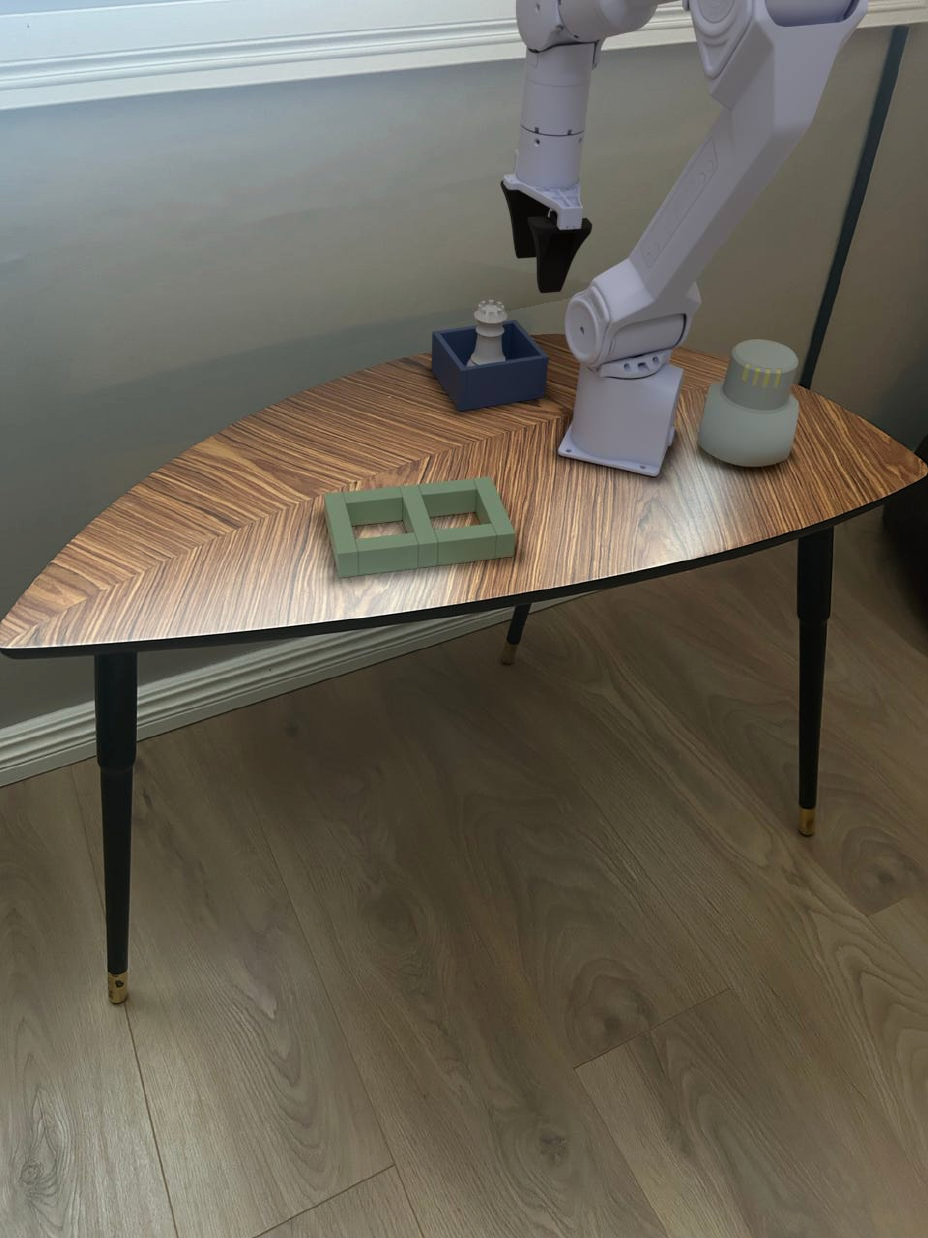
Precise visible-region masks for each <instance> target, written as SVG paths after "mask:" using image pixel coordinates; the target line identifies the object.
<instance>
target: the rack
mask: <svg viewBox="0 0 928 1238" xmlns="http://www.w3.org/2000/svg"><path fill="white" fill-rule="evenodd" d="M323 504H324V505H323V506H324V507H323V508H324V519H325V523H326V527H327V532H328V537H329V540H330V544H331V545H330V546H331V549H332V553H333V558H334V563H335V567H336V571H337V575H338V578H339V579H341V578H348V577H349V578H350V577H357V576H366V575H373V574H382V573H390V572H396V571H406V570H413V569H421V568H428V567H429V568H430V567H436V566H446V565H453V564H454V565H455V564H462V563H472V562H480V561H487V560H494V559H495V560H496V559H502V558H503V559H504V558H510V557H511V558H512V557H514V555H515V554H514V553H515V542H516V530H515V528H514V526H513V524H512V522H511V520H510V517H509V515H508V513H507V511H506V508H505V506H504V504H503V501H502V500H501V497H500V494H499V493H498V491H497V487H496V486H495V483H494V481H493V479H492V476H482V477H474V478H472V477H471V478H463V479H453V480H444V481H436V482H426V483H418V484H417V483H416V484H415V483H414V484H406V485H395V486H386V487H378V488H368V489H367V488H366V489H360V490H359V489H357V490H350V491H349V490H348V491H339V492H330V493H323ZM469 513H476V516H477V518H478V521H479V523H480V524H475V525H473V524H472V525H467V526H458V527H450V528H449V527H448V528H439V529H434V527H433V524H432V521H431V519H430V518H435V517H444V516H452V515H453V516H454V515H461V514H463V515H464V514H469ZM400 521H402V522H403V525H404V527H405V531H406V533H396V534H388V535H379V536H370V537H362V538H355V534H354V530H353V527H357V526H365V525H374V524H383V523H392V522H400Z"/></svg>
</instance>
